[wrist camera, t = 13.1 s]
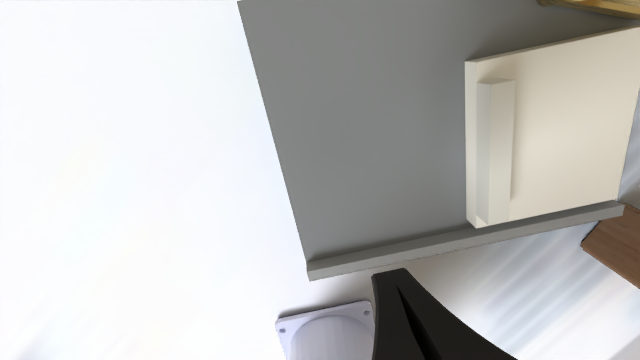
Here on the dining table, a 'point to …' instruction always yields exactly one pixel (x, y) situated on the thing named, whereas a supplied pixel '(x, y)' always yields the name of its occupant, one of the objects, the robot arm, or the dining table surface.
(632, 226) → the wooden block
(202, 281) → the dining table surface
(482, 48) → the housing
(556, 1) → the key
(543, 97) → the cover
